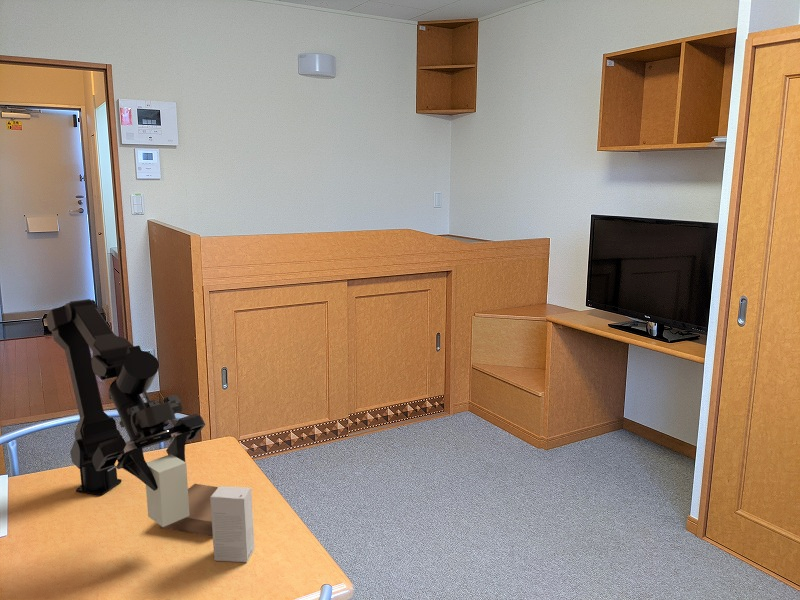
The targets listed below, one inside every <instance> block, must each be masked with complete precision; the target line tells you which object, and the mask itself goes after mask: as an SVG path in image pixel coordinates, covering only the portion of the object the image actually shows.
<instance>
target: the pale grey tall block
mask: <svg viewBox="0 0 800 600" xmlns="http://www.w3.org/2000/svg"><path fill="white" fill-rule="evenodd" d="M146 463H147V465H148V467H149V469H150V471H151V473H152V475H153V476H154V478H155V481H156V484H157V487H158V488H157V490H155V491H154V490H152V489H151V488H150V487H149V486H147V485H146V484H145V490H146V491H145V492H146V506H147V507H146V508H147V517H148V518H150V519H151V520H152V521H154V522H155V523H156V524H157V525H159V526H160V525H161V526H162V527H165V526H167V525H169V524H172V523H174V522H176V521H178V520H181V519H183V518H185V517H188V516H189V500H188V489H189V486H188V485H189V483H188V469H187V468H188V467H187V462H186V461H185V462H184V461H182V460H181V459H179V458H177V457H175V456H174V455H172V454H170V455H168V454H167V455H164V456H162V457H158V458H155V459H152V460H150V461H147V462H146Z"/></svg>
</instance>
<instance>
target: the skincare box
mask: <svg viewBox="0 0 800 600" xmlns="http://www.w3.org/2000/svg"><path fill="white" fill-rule="evenodd" d="M217 487H218V488H217V489H216V491H215V492H214V493H213V494H212V496H211V497H210V503H211V517H212V532H213V537H212V545H213V558H214V561H215V562H218V561H219V562H233V563H234V562H236V563H248V561H249V560H250V558H251V556H252V554H253V553H254V551H255V533H254V532H255V531H254V515H253V499H252V498H253V497H252V496H253V495H252V487H250V486H249V487H248V486H246V487H244V486H220V485H219V486H217Z"/></svg>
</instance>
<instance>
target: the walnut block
mask: <svg viewBox="0 0 800 600" xmlns="http://www.w3.org/2000/svg"><path fill="white" fill-rule="evenodd" d="M218 487H219V486H213V485H206V484H200V483H199V484H198V483H194V484H192V485H191V486H189V487H188V500H189V516H188V517H185V518H183V519H181V520H178V521H176V522H174V523H172V524H169V525H167V526H165V527H162V526H161V525H159V529H163V530H169V531H176V532H180V533H181V532H183V533H188V534H194V535H199V536H206V537H211V538H213V532H212V517H211V503H210V497H211V496H212V494H213V493H214V492H215V491H216V489H217V488H218Z"/></svg>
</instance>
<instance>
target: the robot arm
mask: <svg viewBox="0 0 800 600" xmlns="http://www.w3.org/2000/svg"><path fill="white" fill-rule="evenodd" d="M97 307H98V306H97V302H96V301H95V300H94V299H90V298H89V299H88V298H86V299H80V300H79V299H78V300H73V301H69V302H67V303H65V304H64V305H62V306H59V307H54V308H52V309H51V311H49V312H48V313H47V315H46V319H45V320H46V325H47V328H48V329H47V330H49V332H51V334H52V338H53V341H54V342H56V344H58V346H60V347H61V349H63V350H64V353H65V357H66V363H67V365H68V370H69V375H70V379H71V383H72V389H73V392H74V398H75V403H76V405H77V410H78V411H77V412H78V415H79V420H78V422H77V425H76V428H75V430H74V439H75V440H74V442H73V444H72V447H71V449H70V454H69V455H70V458H71V463H72V464H73V465H74V466H75V467H76V468H77V469H79V473H80V483H81V485H80V486H78V487H76V488H75V491H76V493H84V494H90V495H96V496H103V495H105V494H106V493H107V492H109V491H111V490H112V489H114V488H115V487H116V486H118V485H119V484H121V483H122V481H123V480H122V479H121V478H118V472H117V471H118V470H121V469H122V470H124V471H126V472H128V473H130V474H131V475H133V476H135V478H137V479H139V480H140V481H141V482H142V483H144V484H145V486H146V485H147V486H149V487H150V488H151V489H152V490H154V491H155V490H157V488H158V487H157V484H156V481H155V478H154V476H153V475H152V473H151V471H150V469H149V467H148V465H147V462H146V459H145V456H144V450H143V449H145V448H148V447H152V446H155V445H158V444H160V443H164V442H167V445H168V447H167V448H166V450H165V452H166V453H167V455H170V454H172V455H174V456H175V457H177V458H179V459H181V460H182V461H184V462H186V454H185V453H186V442H189V441H192V440H194V439H197V437H198V436H199V434H200V433H201V431H202V430H203V429H204V428H205V426H206V421H205V420H204V419H203V417H202V416H201V415H199V414H198V413H193V414H190V415H187V416H183V417H181V418H178V420H177V421H176V423H175V424H174V426H173V427H170V428H166V429H165V427H167V426H169V424H170V422H169V421H172V420H176V419H177V418H176V415H175V414H178V413H181V412H182V411H183V409H184V408H183V405H182V402H181V400H180V397H178V395H177V394H173V395H169V396H167V397H164V398H163V402H162V403H159V404H158V403H157V401H156V400H155V399H154V400H151V398H150V396H149V394H148V392H147V391H148V390H149V388H150V387H151V385H152V384H153V382H154V379H155V377H156V375H157V373H158V372H159V371H158V370H159V368H160V367H159V366H160V364H159V360H158V358H157V357H156V356H154V355H153V354H152V353H151V352H148V351H145V350H142V349H141V346H140V345H134V344H133V343H131V341H129V340H128V339H127V338H126V337H121V336H119V335H117V334H115V333H114V331H113V330H112V328H111V327H110V326H109V324H108V323H107V321H106V320H105V319H104V317H103V315H102V314H101V312H100V311H99V310H98V308H97ZM91 352H92V354H91ZM97 376H98V377H97ZM97 378H99V380H101V381H106V380H111V379H114V380H113V381H112V382H111V384H110V385H109V388H108V399H109V400H112V402H113V405H114V407H115V410H116V411H117V414H118V416H119V418H120V421H119V425H120V427H121V428H124V430H125V431H126V433H127V435H128V437H129V440H128V441H126V440H125V439H124V438H123V435H122V434H121V432H120V431H119V429H118V428H117V423H116V419H114V417H113V416H112V417H110V416H109V415H108V414H107V413H106V412H105V411H104V407H103V403H102V402H103V401H102V398H101V393H100V390H99V389H100V388H99V384H98V379H97ZM116 462H117V464H116Z"/></svg>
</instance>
